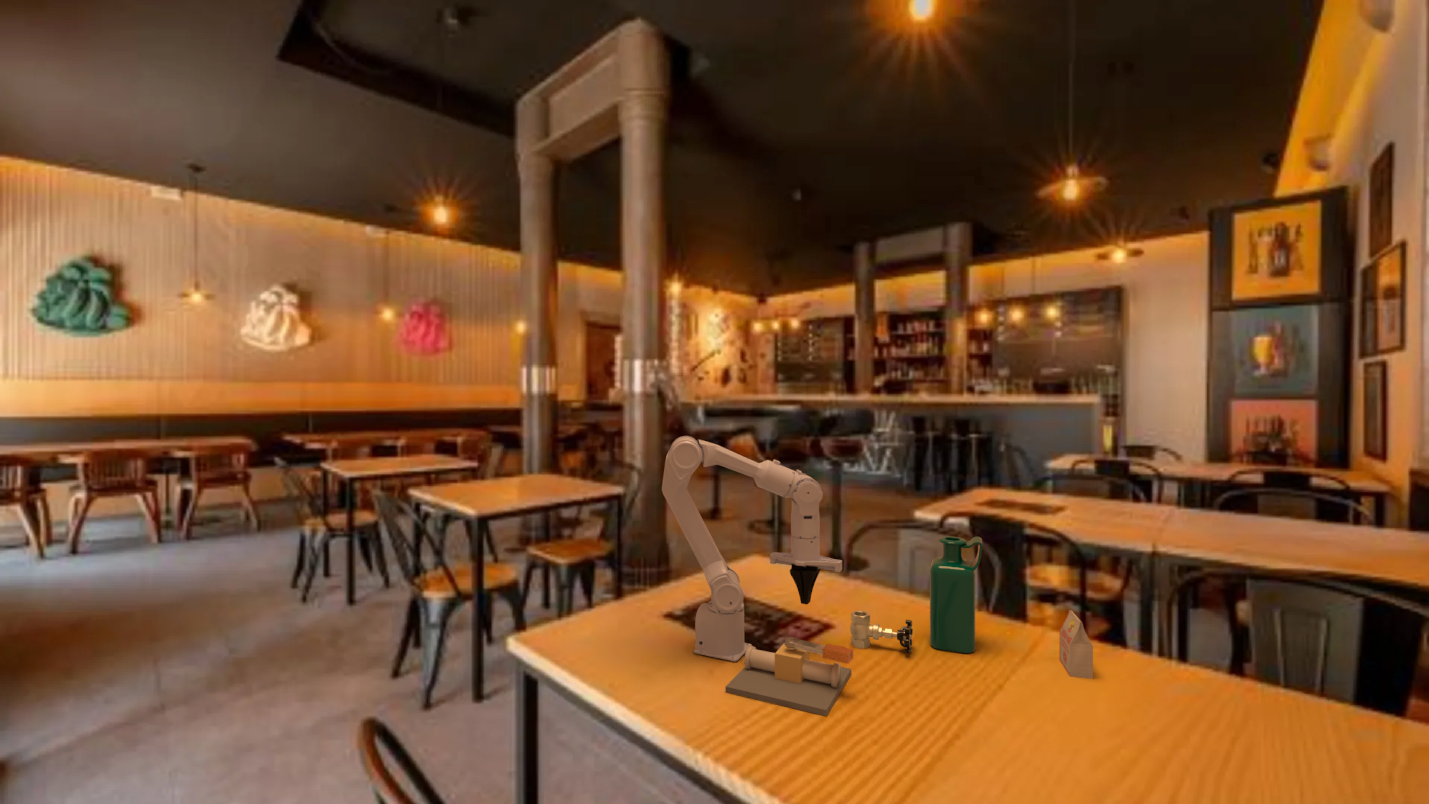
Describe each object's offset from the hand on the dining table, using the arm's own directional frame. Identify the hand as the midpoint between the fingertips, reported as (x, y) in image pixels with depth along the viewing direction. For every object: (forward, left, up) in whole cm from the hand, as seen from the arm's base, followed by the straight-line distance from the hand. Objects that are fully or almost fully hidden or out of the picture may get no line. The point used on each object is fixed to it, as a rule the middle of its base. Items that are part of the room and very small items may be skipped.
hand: (805, 602), depth 124 cm
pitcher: (+27, +15, -10) cm, 32 cm away
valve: (+13, +7, -10) cm, 18 cm away
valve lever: (+7, -14, -4) cm, 16 cm away
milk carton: (+48, +13, -10) cm, 51 cm away
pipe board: (+2, -14, -9) cm, 17 cm away
